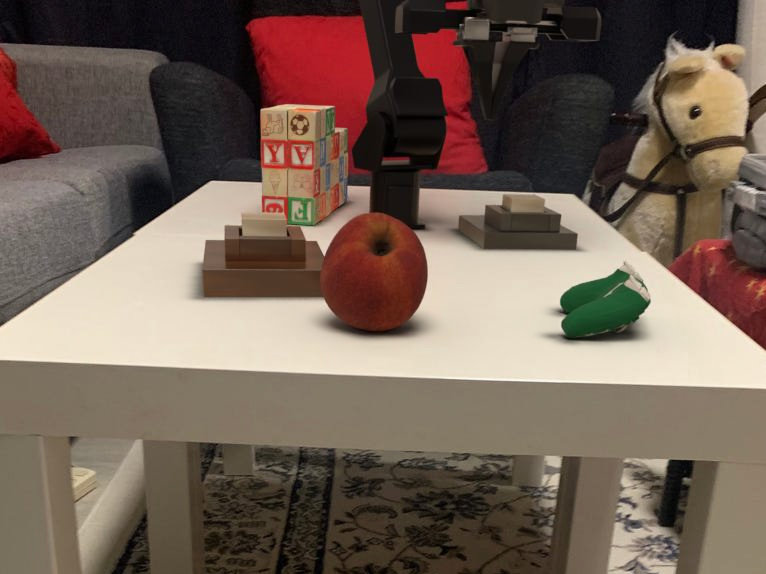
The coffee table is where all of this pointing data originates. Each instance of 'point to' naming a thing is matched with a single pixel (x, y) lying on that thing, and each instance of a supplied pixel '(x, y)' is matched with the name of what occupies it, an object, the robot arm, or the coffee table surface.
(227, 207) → the coffee table surface
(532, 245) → the grey stepped pedestal
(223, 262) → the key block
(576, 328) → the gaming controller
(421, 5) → the robot arm
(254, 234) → the key
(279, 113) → the stack of blocks
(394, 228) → the apple
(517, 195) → the key
